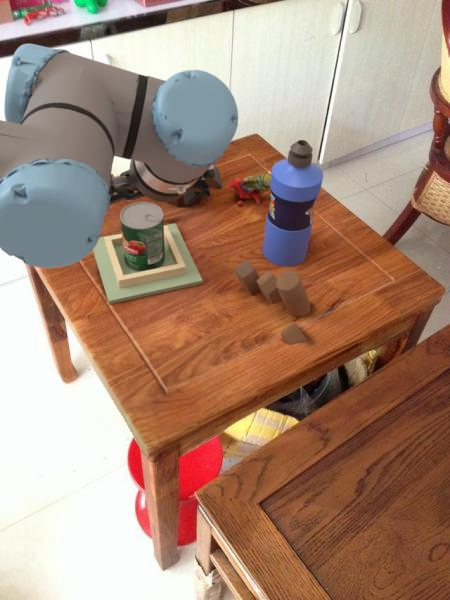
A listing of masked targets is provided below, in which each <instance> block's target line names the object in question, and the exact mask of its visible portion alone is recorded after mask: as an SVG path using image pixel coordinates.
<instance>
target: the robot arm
mask: <svg viewBox="0 0 450 600" xmlns="http://www.w3.org/2000/svg"><path fill="white" fill-rule="evenodd" d="M5 86H6V87H5V95H4V107H3V108H4V119H5V120H2V119H1V120H0V249H1V251H3V252H4V253H5V254H6V255H8V256H9V257H12V256H13V257H15V258H17V259H19V260H21V261H22V262H23V264H25V265H27V266H30V267H36V268H41V269H57V268H64V267H68V266H72V265H74V264H77V263H79V262H80V261H82V260H83V259H85V258H86V257H88V255H90V254H91V253H92V251H93V249H94V247H95V246H96V244H97V242H98V240H99V238H100V237H101V235H102V231H103V227H104V223H105V218H106V215H107V213H108V212H109V209H110V206H112V205H115V204H118V203H120V202H122V201H125V200H127V201H136V200H139V199H141V198H144V197H145V198H148V199H149V200H152V201H154V202H160V203H168V202H171V201H174V200H177V199H179V198H181V197H182V196H183V197H184V202H185V205H190V204H191V203H192V202H193V201H194V200H195V199H196V198H197V197H198V196H199V195H200V194H201V193H202V199H206V198H211V196H212V195H211V192H210V188H212V189H213V190H218V191H219V190H221V189H223V188H224V186H223V182H222V178H221V173H220V169H218V167H217V166H216V165H215V163H216V162H219V160H220V159H221V158H222V157H223V156H224V155H225V153H226V151H227V149H228V147H229V146H230V145H231V142H232V140H233V139H234V137H235V135H236V132H237V129H238V126H239V110H238V105H237V102H236V99H235V97H234V95H233V92H232V91H231V90H230V88H229V87H228V85H226V84H225V82H223V80H222V79H220V78H219V77H217V76H215V75H214V74H212V73H210V72H207V71H205V70H200V69H190V70H183V71H180V72H177V73H175V74H172V75H171V76H170V77H169V78H167V79H166V80H164V79H160V78H157V77H154V76H151V75H143V74H140V73H138V72H137V73H136V72H134V71H130V70H126V69H124V68H121V67H117V66H114V65H111V64H108V63H104V62H102V61H98V60H95V59H92V58H88V57H86V56H82V55H78V54H75V53H72V52H70V51H69V50H67V49H62V48H57V49H56V48H52V47H48V46H44V45H40V44H34V43H23V44H22V45H20V46H18V47H17V49H16V50H14V53H13V56H12V58H11V63H10V68H9V70H8V75H7V80H6V85H5ZM115 157H117V158H121V159H125V160H128V161H129V160H130V162H129V168H128V169H127V170H125V171H122V172H121V173H120V175H119V176H114V173H112V171H113V164H114V159H115Z"/></svg>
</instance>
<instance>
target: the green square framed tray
mask: <svg viewBox="0 0 450 600" xmlns="http://www.w3.org/2000/svg"><path fill="white" fill-rule="evenodd" d="M164 248H165V249H164V251H165V261H164V264H163V265H162V266H161V267H160V268H156V269H151V270H147V271H142V272H135V271H133V270H131V269H129V268H128V267H127V266H126V264H125V261H124V249H123V239H122V232H121V233H117V234H111V235H105V236H100V237H99V240H98V242H97V244H96V246H95V247H94V249H93V250H92V251H93V253H92V254H93V256H94V259H95V263H96V266H97V269H98V272H99V275H100V278H101V281H102V285H103V288H104V293H105V295H106V298H107V302H108V305H114V304H119V303H124V302H128V301H132V300H137V299H142V298H146V297H149V296H154V295H159V294H164V293H167V292H168V293H169V292H173V291H177V290H181V289H186V288H191V287H196V286H199V285H200V286H201V285H203V284H204V283H203V278H202V276H201V273H200V272H199V270H198V267H197V265H196V263H195V261H194V259H193V256H192V254H191V252H190V250H189V248H188V246H187V244H186V242H185V240H184V238H183V236H182V234H181V232H180V230H179V228H178V225H177V223H176V222H175V223H170V224H164Z"/></svg>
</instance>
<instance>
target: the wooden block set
mask: <svg viewBox="0 0 450 600" xmlns="http://www.w3.org/2000/svg"><path fill="white" fill-rule="evenodd" d="M233 271H234V273H235V275H236V277H237V279H238V281H239V283H240V285H241V286H242V288H243V289H244V290H245V291H246V292H247V293H248V294H249V295H251V296H253V295H254V294H256V293H257V292H258V291H259V290H260V292H261V294H262V296H263V298H264V299H265V300H266V301H269V302H270V303H271V304H275V303H277V302H279V301H281V300H282V302H283V304H284V308H285V309H286V311H287V312H288V314H289V315H290V316H292V317H293V316H294V317H297V318H299V317H304V316H307V315H308V314H309V313H310V311H311V303H310V300H309V298H308V294H307V291H306V289H305V286H304V284H303V281H302V278H301V275H300V274H299V272H297V271H295V270H286V271H284V272H283V273H281V274H280V275H279V276H278V278H277V277H276V276H275V275H274V274H273V273H272V272H271V271H270V270H267V271H266V272H265V273H264V274H262V275H261V276H260V275H259V273H258V271H257V269H256V267H255V266H254V265H253V264H251V262H249V261H248V260H247V259H245V260H243V261H242V262H241V263H240V264H239V265H237V266H236V267H235V268H234V269H233ZM280 336H281V337H282V340H284V341H285V342H286V344H288V345H289V346H291V345H297V344H302V343H308V342H309V340H308V338H307V337H306V336H305V335H304V333H303V332H302V331H301V329H300V327H299V326H298V325H297V324H296V323H295V322H294V321H293V322H291V323H290V324H289V325H288V326H286V328H285V329H284V330H281V332H280Z"/></svg>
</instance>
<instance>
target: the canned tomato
mask: <svg viewBox="0 0 450 600" xmlns="http://www.w3.org/2000/svg"><path fill="white" fill-rule="evenodd" d="M119 220H120V229H121V233H122V239H123V249H124V261H125V264H126V266H127V267H128V268H129V269H131V270H133V271H135V272H142V271H147V270H151V269H156V268H160V267H161V266H162V265H163V264H164V261H165V251H164V249H165V248H164V225H165V224H164V222H165V221H164V212H163V209H162V208H161V206H159V205H157V204H156V203H153V202H149V201H137V202H133V203H129V204H127V205H126V206H125V207H123V208H122V209H121V210H120V213H119Z"/></svg>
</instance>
